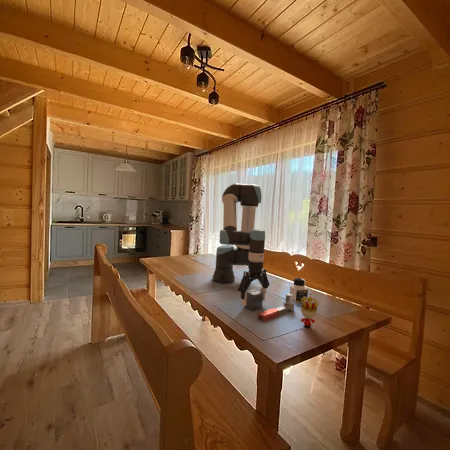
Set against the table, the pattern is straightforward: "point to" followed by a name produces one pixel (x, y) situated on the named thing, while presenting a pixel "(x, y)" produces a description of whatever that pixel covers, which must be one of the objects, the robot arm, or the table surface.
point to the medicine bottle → (298, 290)
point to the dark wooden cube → (254, 300)
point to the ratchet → (278, 309)
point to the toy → (308, 310)
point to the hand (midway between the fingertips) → (253, 302)
